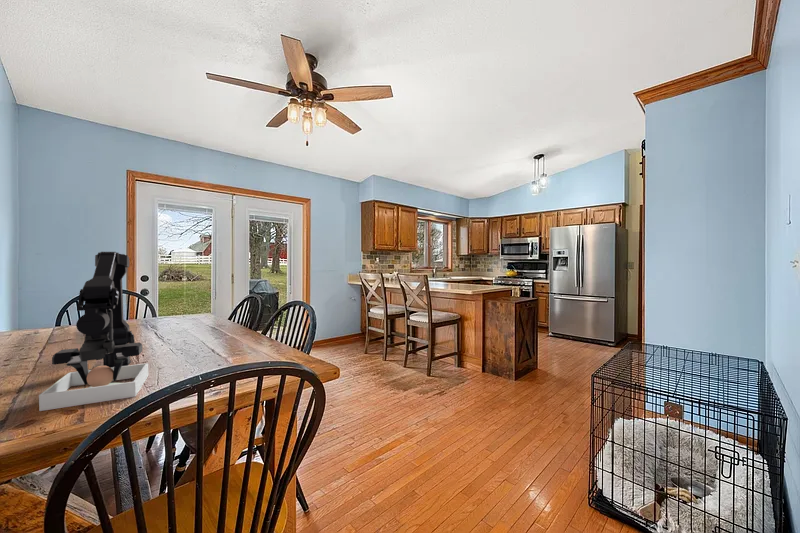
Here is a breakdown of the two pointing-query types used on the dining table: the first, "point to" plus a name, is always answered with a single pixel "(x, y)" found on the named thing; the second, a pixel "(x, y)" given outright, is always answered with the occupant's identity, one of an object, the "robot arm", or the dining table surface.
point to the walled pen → (92, 389)
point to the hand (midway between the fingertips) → (100, 382)
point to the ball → (100, 376)
